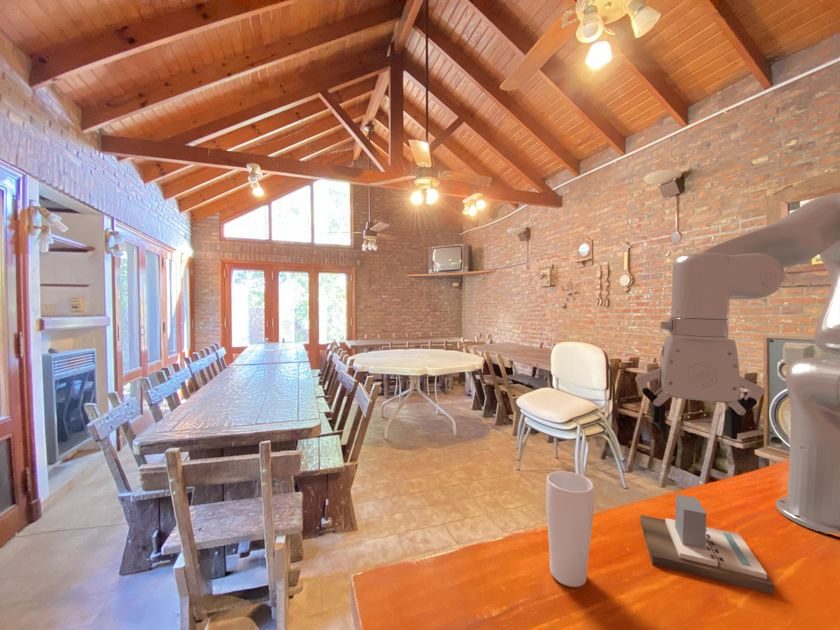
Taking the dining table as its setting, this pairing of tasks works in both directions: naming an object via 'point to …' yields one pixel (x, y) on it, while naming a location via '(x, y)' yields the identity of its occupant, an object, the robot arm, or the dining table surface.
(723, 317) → the robot arm
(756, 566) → the board
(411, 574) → the dining table surface
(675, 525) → the stub
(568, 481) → the drinking glass
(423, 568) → the dining table surface
